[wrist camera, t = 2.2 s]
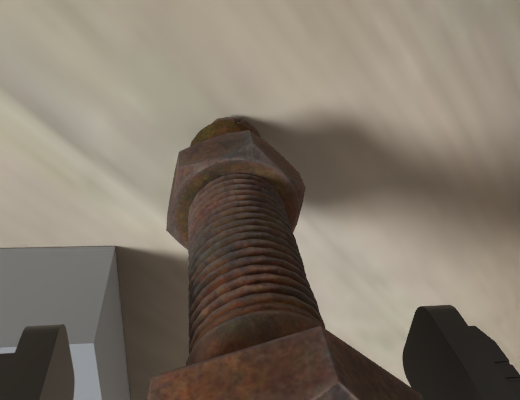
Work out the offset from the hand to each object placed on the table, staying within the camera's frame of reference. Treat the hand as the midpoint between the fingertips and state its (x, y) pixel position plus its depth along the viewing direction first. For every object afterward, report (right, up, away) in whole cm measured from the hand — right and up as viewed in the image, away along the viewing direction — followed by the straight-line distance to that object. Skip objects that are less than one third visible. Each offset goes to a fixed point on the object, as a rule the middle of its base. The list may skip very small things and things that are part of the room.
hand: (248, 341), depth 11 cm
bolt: (-1, +6, +10) cm, 11 cm away
